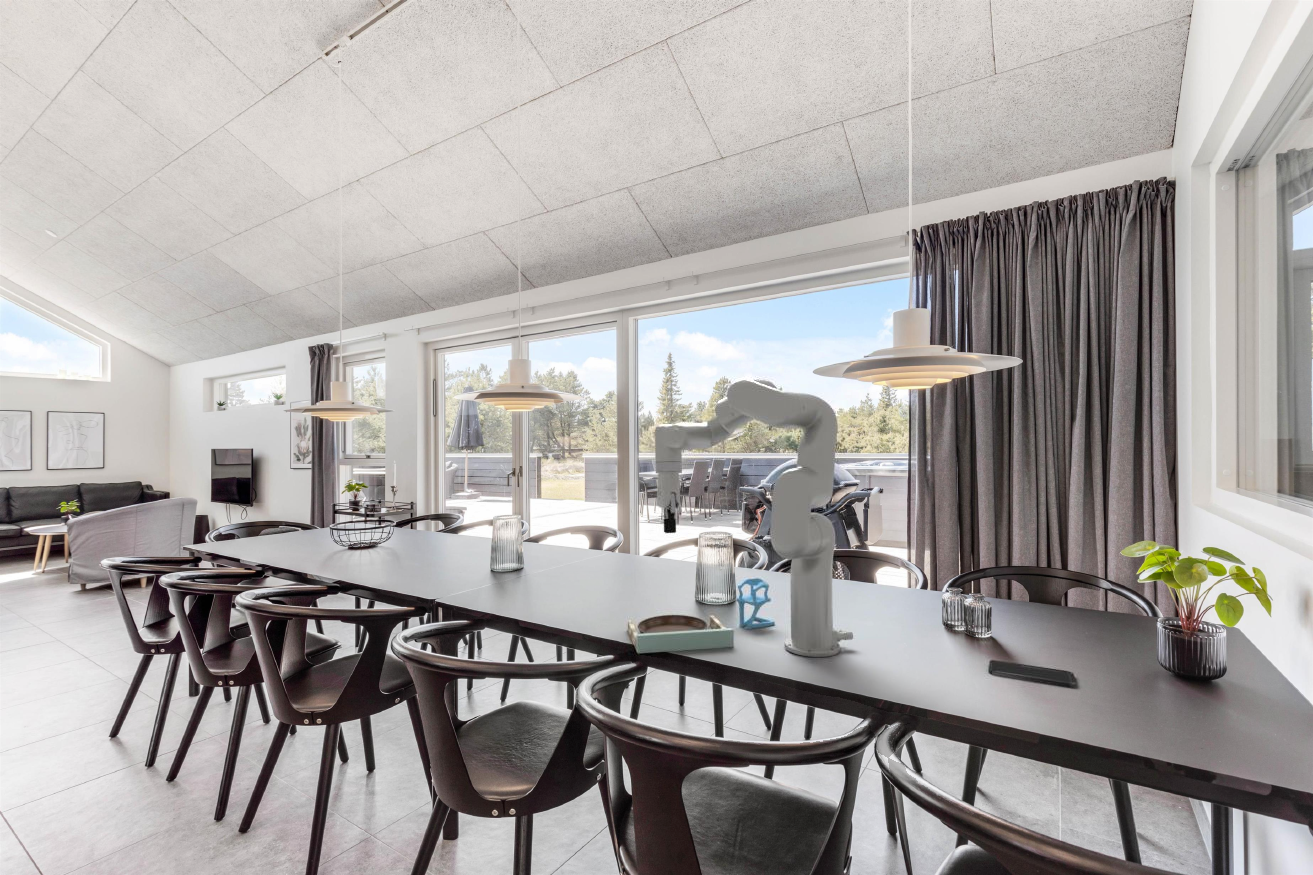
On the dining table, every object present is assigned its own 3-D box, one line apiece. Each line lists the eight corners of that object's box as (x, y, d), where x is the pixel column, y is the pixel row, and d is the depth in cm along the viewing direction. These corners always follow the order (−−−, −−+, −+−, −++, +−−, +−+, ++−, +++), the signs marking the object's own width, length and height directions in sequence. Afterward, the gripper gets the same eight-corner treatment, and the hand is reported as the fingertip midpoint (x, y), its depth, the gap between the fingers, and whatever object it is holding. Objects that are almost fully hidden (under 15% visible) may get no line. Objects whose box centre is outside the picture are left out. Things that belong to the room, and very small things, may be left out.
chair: (732, 625, 163) (731, 579, 163) (752, 618, 168) (751, 575, 169) (755, 631, 157) (754, 584, 157) (775, 624, 163) (774, 579, 163)
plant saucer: (664, 653, 142) (664, 639, 142) (624, 634, 157) (624, 622, 157) (722, 638, 152) (722, 626, 152) (679, 622, 167) (679, 610, 167)
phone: (1075, 684, 119) (988, 670, 127) (1075, 690, 119) (988, 675, 127) (1073, 671, 126) (989, 658, 133) (1073, 677, 126) (990, 664, 133)
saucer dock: (627, 630, 159) (627, 614, 159) (713, 624, 163) (713, 609, 163) (637, 653, 141) (637, 635, 141) (733, 646, 145) (733, 629, 145)
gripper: (650, 467, 181) (652, 529, 181) (661, 469, 166) (662, 536, 166) (675, 467, 183) (676, 528, 182) (688, 468, 168) (689, 535, 168)
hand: (670, 532), depth 174 cm, fingers closed
